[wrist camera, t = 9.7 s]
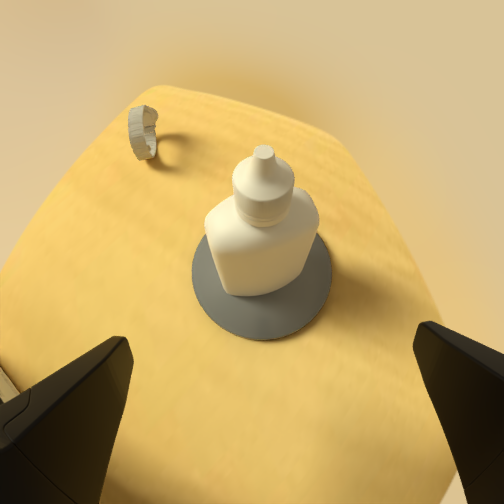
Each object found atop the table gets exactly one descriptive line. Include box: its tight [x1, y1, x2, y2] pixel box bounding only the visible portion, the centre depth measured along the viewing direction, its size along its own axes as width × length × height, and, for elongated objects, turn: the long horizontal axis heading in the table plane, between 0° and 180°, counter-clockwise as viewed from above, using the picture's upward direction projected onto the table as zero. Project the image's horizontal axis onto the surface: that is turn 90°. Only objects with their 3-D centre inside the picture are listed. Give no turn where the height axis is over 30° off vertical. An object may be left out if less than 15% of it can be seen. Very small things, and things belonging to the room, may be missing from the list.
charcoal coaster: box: [192, 233, 332, 340], centre depth 21 cm, size 10×10×1 cm
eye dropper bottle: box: [204, 145, 319, 296], centre depth 15 cm, size 4×6×12 cm
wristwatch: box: [128, 105, 158, 161], centre depth 25 cm, size 3×5×5 cm, turn 10°
